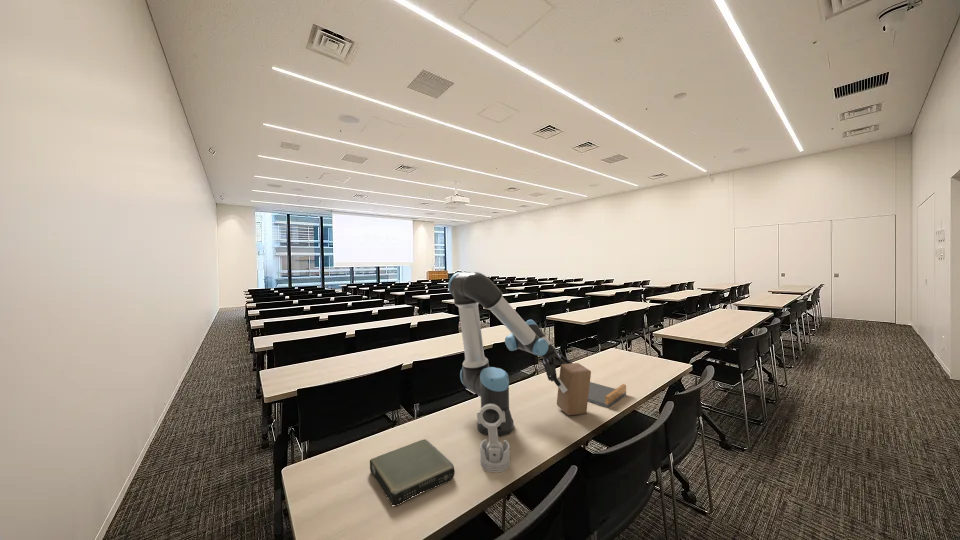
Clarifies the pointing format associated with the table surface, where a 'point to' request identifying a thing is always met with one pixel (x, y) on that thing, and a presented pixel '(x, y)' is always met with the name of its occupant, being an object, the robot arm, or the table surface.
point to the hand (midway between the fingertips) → (573, 387)
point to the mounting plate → (605, 394)
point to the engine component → (493, 443)
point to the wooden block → (574, 388)
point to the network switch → (411, 470)
